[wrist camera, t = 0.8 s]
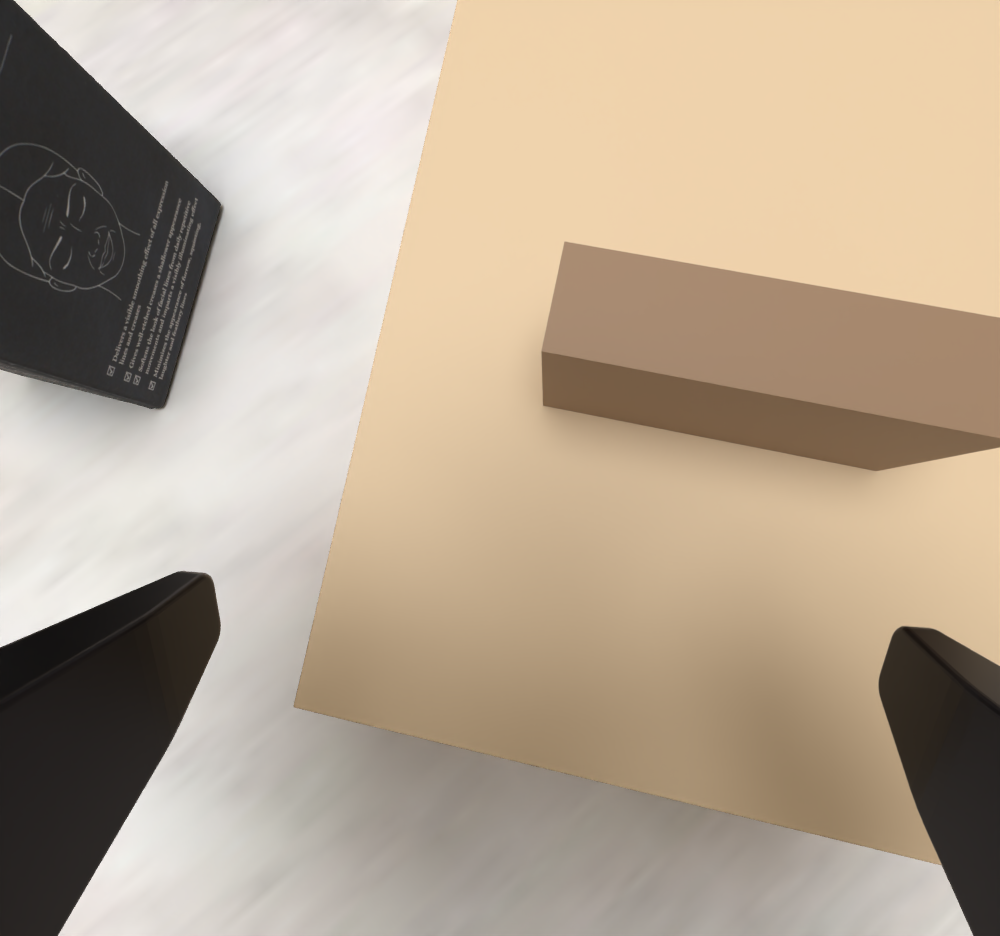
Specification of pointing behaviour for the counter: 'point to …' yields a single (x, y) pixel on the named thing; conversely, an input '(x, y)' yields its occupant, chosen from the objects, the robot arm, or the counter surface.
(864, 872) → the counter surface
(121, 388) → the box
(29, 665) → the robot arm
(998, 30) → the lid
